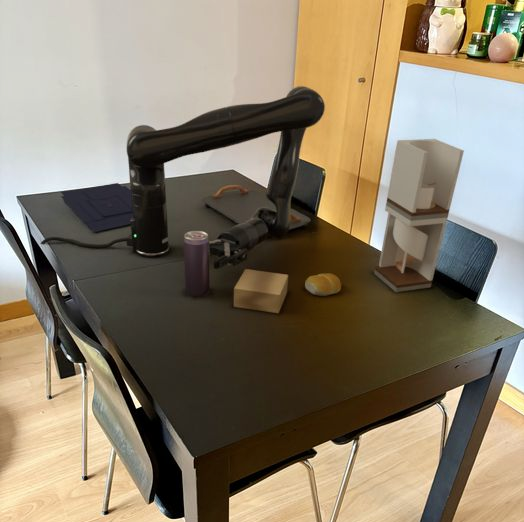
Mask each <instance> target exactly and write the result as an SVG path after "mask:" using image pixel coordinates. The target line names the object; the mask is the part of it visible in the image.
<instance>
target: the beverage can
mask: <svg viewBox="0 0 524 522" xmlns="http://www.w3.org/2000/svg"><path fill="white" fill-rule="evenodd" d="M209 241H210V238H209V234H208V233H207V232H205V231H201V230H191V231H187V232H185V233H184V235H183V259H184V260H183V261H184V262H183V263H184V287H185V292H186V293H187V295H188V296H189V297H190V296H191V297H194V298H200V297H201V298H202V297H205V296H207V295H208V294H209V293H210V289H211V285H210V281H211V280H210V256H209V252H210V246H209Z"/></svg>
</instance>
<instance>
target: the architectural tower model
mask: <svg viewBox="0 0 524 522" xmlns="http://www.w3.org/2000/svg"><path fill="white" fill-rule="evenodd" d="M464 153H465V150H463V149H461V148H459V147H456V146H454V145H452V144H449V143H446V142H444V141H441V140H438V139H436V138H424V139H423V138H421V139H401V140H400V139H399V140H398V139H397V141H396V145H395V151H394V158H393V162H392V169H391V175H390V181H389V185H388V192H387V197H386V203H385V208H384V211H385V212H387V213H388V214H387V218H386V224H385V225H386V226H385V230H384V235H383V239H382V248H381V251H380V257H379V263H378V265H375V266H374V271H373V274H374V275H375V276H376V277H377V278H378V279H380V280H381V281H382V282H383V283H384V284H386V285H387V286H388V287H389V288H390V289H392V290H393V292H395V293H400V292H407V291H408V292H409V291H414V290H421V289H429V288H431V287H432V284H433V279H434V275H435V271H436V267H437V263H438V258H439V254H440V252H441V251H440V250H441V246H442V242H443V239H444V234H445V231H446V227H447V223H448V218H449V213H450V210H451V205H452V202H453V198H454V193H455V188H456V184H457V180H458V176H459V172H460V168H461V164H462V161H463V156H464Z"/></svg>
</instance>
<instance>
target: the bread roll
mask: <svg viewBox="0 0 524 522" xmlns="http://www.w3.org/2000/svg"><path fill="white" fill-rule="evenodd" d="M304 287H305V290H306V291H308V292H309V293H311V294H312V295H314V296H318V297H319V296H320V297H325V296H326V297H327V296H330V295H335V294H337V293H339V292H340V291H341V289H342V282H341V280H340V279H339V277H338V276H336V275H335V274H333V273H329V272H326V273H319V274H317V275H315V274H314V275H310V276H308V278H306V280H305V283H304Z"/></svg>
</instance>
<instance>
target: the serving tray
mask: <svg viewBox="0 0 524 522" xmlns="http://www.w3.org/2000/svg"><path fill="white" fill-rule="evenodd" d="M230 190H231V191H230ZM232 190H233V191H232ZM201 202H202V203H204V206H205V208H207V209H208V208H209V209H210V208H212V209H213V210H215V211H217V212H218V213H220V214H222V215H223V216H224V217H226V218H228V219H230V220H231V221H233V222H235V223H236V224H237V225H238V224H241V223H244V222H246V221H248V220H249V219H250V218H251V217H252V216H253V215H254V214H255V212H256V211H257V210H258V209H259V208H262V207H267V208H270V209H272V210H275V211H276V206H275V205H274V204H273V203H272V202H271V201H270V200H268V199H267V197H266V194H264V193H263V192H261V191H258V190H248V189H244V188H243V187H242V186H241V185H239V184H231V185H225V186H223V187H221V188H220V189H218V191H216V193H215V194H211V195H209V196H206V197H203V198H202V199H201ZM310 222H311V218H310V217H309V216H306V215H305V214H303V213H301V212H299V211H297V210H295V209H294V208H291V207H290V226H289V230H288V231H290V230H293V229H297V228H300V227H301V229H302V230H305V229H307V227H308V224H309V223H310Z"/></svg>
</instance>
